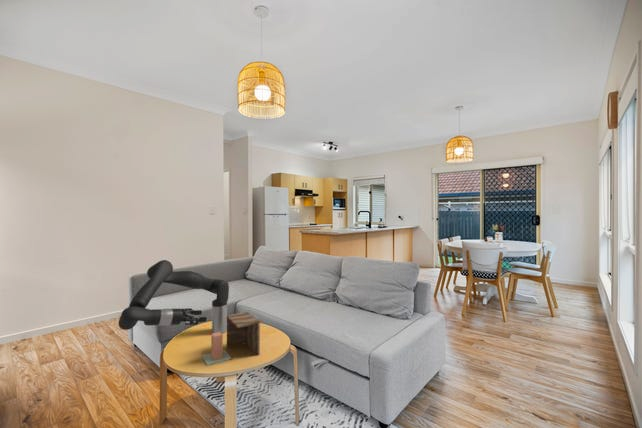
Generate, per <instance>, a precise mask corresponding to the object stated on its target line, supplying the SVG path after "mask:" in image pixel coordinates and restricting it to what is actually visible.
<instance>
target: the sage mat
mask: <svg viewBox="0 0 642 428" xmlns="http://www.w3.org/2000/svg"><path fill="white" fill-rule="evenodd" d="M201 357H202V359H203V360H204V362H205V365H206V366H210V365H211V366H212V365H215V364H218V363H222V362H226V361H228V360H232V357H231V355H230V354H229V353H228V352H227V350H226V349H222V358H220V359H216V360H213V358H212V357H211V353H207V354H204V355H202V356H201Z"/></svg>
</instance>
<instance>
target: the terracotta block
mask: <svg viewBox="0 0 642 428" xmlns="http://www.w3.org/2000/svg"><path fill="white" fill-rule="evenodd" d="M210 335H211V337H210V338H211V339H210V340H211V347H210V348H211V349H210V350H211V351H210V354H211V357H212V358H213V360H216V359H220V358H222V350H223V336H224V335H223V333H221V332H217V333H211V334H210Z"/></svg>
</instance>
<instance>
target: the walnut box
mask: <svg viewBox="0 0 642 428" xmlns="http://www.w3.org/2000/svg"><path fill="white" fill-rule="evenodd" d="M260 322H261V321H260V320H259V319H257V318H256V317H255V316H254V315H252V314H251V313H249V312H248V311H243V312H239V313H232V314H227V331H226V348H227V349H229V348H233V347H236V346H240V345H245V344H246V345H247V346H248V347H249V348H250V349H251V350H252V351H253V352H254V353H255V354H256V355H257V356H260V354H261V353H260V351H261V350H260V344H261V343H260V341H261V339H260V337H261V336H260V335H261V329H260V328H261V326H260V325H261V323H260Z"/></svg>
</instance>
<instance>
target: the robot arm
mask: <svg viewBox="0 0 642 428" xmlns="http://www.w3.org/2000/svg"><path fill="white" fill-rule="evenodd" d="M173 270H174V265H173V264H172V262H171V261H169V260H167V259H164V260H159V261H158V262H156V263H154V264H153V265H151V266H150V267H149V268H148V269H147V271H146V275H147V277H148V278H149V279H148V281H146V282H145V283H144V285H142V287H141V288H139V290H138V291H137V292H136V293H135V295H134V296H133V298H132V300H130V303H129V305H128V307H126V308H124V309H123V310H122V312H121V315H120V316H119V319H118V327H119V328H120V329H121V330H124V331H128V330H131V329H133V328H134V327H135V326H136V325H137V323H138V321H140V322H143V324H144V325H145V326H150V327H151V326H178V325H180V324H181V322H184V325H186V326H189V325H190V326H191V325H193V326H196V325H199V323H205V322H207V316H201V315H202V313H203V310H201V309H200V310H199V309H198V310H196V309H195V310H194V309H193V308H191V307H190V308H162V309H161V308H160V309H158V308H157V309H150V308H147V306H148V305H149V303H150V302H151V301H152V299H153V297H154V295H155V294H156V292H158V289H159V288H160V287H161V285H162V284H163V283H165V284H172V285H177V286H180V287H181V286H182V287H185V288H189V289H193V290H204V291H206V292H210V293H212V294H215V295H216V298H215V299H213V300H212V301H211V334H213V333H217V332H221V333H222V334H224V333H227V315H228V301H229V293H230V286H229V285H230V284H229V282H228V281H227V280H224V279H218V278H210V277H209V278H208V277H205V276H204V275H203V274H200V273H199V272H195V271H192V270H181V271H180V270H179V271H173ZM199 316H200V317H199Z"/></svg>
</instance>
